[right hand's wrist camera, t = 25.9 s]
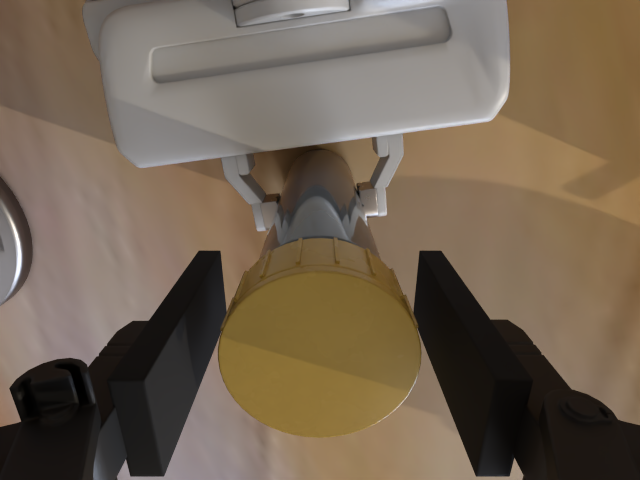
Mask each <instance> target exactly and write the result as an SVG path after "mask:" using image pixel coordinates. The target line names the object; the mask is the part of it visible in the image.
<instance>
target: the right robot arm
mask: <svg viewBox="0 0 640 480" xmlns="http://www.w3.org/2000/svg"><path fill="white" fill-rule="evenodd" d="M31 263H32V238H31V233H30V229H29V226H28V223H27V219H26V217H25V215H24V212H23V210H22V208H21V206H20V204H19V202H18V201H17V199H16V197H15V196H14V194H13V193H12V191H11V190H10V189H9V187H8V186H7V185H6V183H5V182H4V181H3V180H2V179H1V177H0V306H1V305H2V304H4V303H5V302H6V301H8V300H9V299H10V298H12V297H13V296H14V295H15V294H16V293H17V292H18V291H19V290H20V288H21V287H22V286H23V284H24V282H25V280H26V279H27V276H28V274H29V271H30V267H31ZM226 313H227V312H226V302H225V292H224V282H223V273H222V263H221V253H220V251H198V253H197V254H196V256H195V257H194V258H193V260H192V261H191V263H190V264H189V265H188V267H187V268H186V270H185V271H184V272H183V274H182V275H181V277H180V278H179V279H178V281H177V282H176V284H175V285H174V286H173V288H172V289H171V291H170V292H169V293H168V295H167V296H166V298H165V299H164V300H163V302H162V303H161V305H160V306H159V307H158V309H157V310H156V312H155V313H154V314H153V316H152V317H151V319H150V320H149V321H132V322H131V323H129V324H128V325H126V326H125V327H123V328H122V329H120V330H119V331H117V332H116V334H115V335H114V336H113V337H112V338H111V340H110V341H109V342H108V343H107V346H105V347H104V348H103V350H102V351H101V352H100V353H99V356H97V357H96V358H95V359H94V361H93V362H92V363H91V364H90V366H89V367H87V364H85V363H84V362H83V361H82V360H79V359H73V358H65V359H56V360H53V361H50V362H46V363H43V364H41V365H39V366H36V367H34V368H32V369H30V370H28V371H27V372H26V373H24V374H23V375H21V376H20V377H19V378H17V379H16V381H15V382H14V383H13V384H12V386H11V387H10V388H9V389H10V391H11V394H12V397H13V400H14V402H15V405H16V408H17V411H18V413H19V416H20V419H21V422H19V423H16V424H11V425H7V426H3V427H0V480H118V479H117V475H118V473H119V471H120V469H121V467H122V465H123V463H124V461H125V460H127V464H128V468H129V472H130V476H164V475H165V473H166V470H167V467H168V465H169V462H170V460H171V457H172V455H173V452H174V450H175V447H176V445H177V442H178V440H179V437H180V435H181V432H182V429H183V427H184V424H185V422H186V419H187V417H188V414H189V412H190V409H191V407H192V404H193V402H194V399H195V397H196V394H197V391H198V389H199V386H200V384H201V381H202V379H203V376H204V374H205V371H206V369H207V366H208V364H209V361H210V359H211V356H212V353H213V351H214V348H215V346H216V343H217V341H218V338H219V336H220V333H221V331H220V329H221V326H222V323H223V321H224V318H225V316H226ZM413 314H414V316H415V319H416V321H417V324H418V331H419V333H420V336H421V338H422V341H423V343H424V346H425V348H426V351H427V353H428V356H429V359H430V361H431V364H432V366H433V369H434V371H435V374H436V376H437V379H438V381H439V384H440V386H441V389H442V391H443V394H444V397H445V399H446V402H447V404H448V407H449V409H450V412H451V414H452V417H453V419H454V422H455V424H456V427H457V429H458V432H459V435H460V437H461V440H462V442H463V445H464V447H465V450H466V452H467V455H468V457H469V460H470V462H471V465H472V467H473V470H474V473H475V475H476V476H510V472H511V468H512V464H513V460H514V458H515V459H516V461H517V463H518V465H519V467H520V469H521V471H522V473H523V475H524V476H523V479H522V480H640V425H636V424H632V423H627V422H623V421H620V420H618V419H617V418H616V416H615V415H614V413H613V412H612V411H611V410H610V409H609V408H608V407H607V406H605V405H604V404H603V403H602V402H600V401H599V400H597V399H595V398H593V397H591V396H589V395H588V394H585V393H582V392H578V391H575V390H571V388H570V387H569V386H568V385H567V383H566V382H565V381H564V380H563V379H562V377H561V376H560V375H559V374H558V372H557V371H556V370H555V369H554V367H553V366H552V365H551V364H550V363H549V361H548V360H547V359H546V358H545V356H544V355H541V352H540V350H539V349H538V348H537V347H536V345H533V342H532V341H531V339H530V338H529V337H528V336H527V334H526V333H525V332H524V331H523V330H522V329H521V328H519V327H518V326H516V325H515V324H513V323H512V322H510V321H509V320H490V319H489V317H488V316H487V314H486V313H485V312H484V310H483V309H482V307H481V306H480V305H479V303H478V302H477V300H476V299H475V298H474V296H473V295H472V293H471V292H470V291H469V289H468V288H467V286H466V285H465V284H464V282H463V281H462V279H461V278H460V277H459V275H458V274H457V272H456V271H455V270H454V268H453V267H452V265H451V264H450V263H449V261H448V260H447V258H446V257H445V256H444V254H443V253H442V251H420V253H419V263H418V273H417V283H416V292H415V302H414V312H413Z"/></svg>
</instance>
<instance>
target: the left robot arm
mask: <svg viewBox="0 0 640 480" xmlns="http://www.w3.org/2000/svg"><path fill="white" fill-rule="evenodd" d="M82 13H83V20H84V24H85V27H86V30H87V34H88V37H89V40H90V43H91V47H92V49H93V52H94V54H95V56H96V57H97V59H98V60H99V61H100V68H101V76H102V82H103V89H104V95H105V100H106V105H107V111H108V115H109V119H110V124H111V128H112V132H113V136H114V140H115V143H116V146H117V148H118V150H119V152H120V153H121V154H122V155H123V156H124V157H125V158H127V159H128V160H129V161H130V162H131V163H133V164H134V165H135V166H136V167H139V168H146V167H153V166H161V165H168V164H176V163H183V162H191V161H198V160H206V159H213V158H221V161H222V165H223V170H224V174H225V178H226V179H227V180H228V181H229V183H230V184H231V185H232V186H233V187H234V188H235V189H236V190H237V191H238V193H239V194H240V195H241V196H242V197H243V198H244V199H245V200H246V202H247V203H248V204H251V205H252V210H253V215H254V220H255V225H256V229H257V231H266V230H269V228H270V225H271V222H272V220H273V217H274V214H275V211H276V208H277V205H278V202H279V199H280V193H278V194H268V195H266V193H265V192H264V191H263V189H262V188H261V187H260V186H259V184H258V183H257V182H256V181H255V179H254V178H253V177H252V176H251V174H250V173H249V172H250V171H251V170H252V169H253V167H254V166H255V161H254V155H253V153H258V152H266V151H273V150H280V149H288V148H295V147H303V146H310V145H318V144H325V143H333V142H340V141H348V140H355V139H363V138H370V137H372V143H373V150H374V151H375V152H376V154H377V155H378V156H379V157H380V159H379V161H378V163H377V166H376V168H375V170H374V172H373V175H372V177H371V179H370V181H369V182H363V183H357V192H358V194H359V197H360V200H361V203H362V206H363V209H364V212H365V215H366V218H370V217H378V216H386V215H387V207H386V193H385V187H387V186H388V184H389V183H390V181H391V179H392V177H393V175H394V173H395V171H396V169H397V167H398V165H399V163H400V161H401V159H402V157H403V155H404V153H403V133H408V132H415V131H423V130H430V129H438V128H445V127H452V126H460V125H467V124H475V123H482V122H488V121H491V120H492V119H493V118H494V117H495V116H496V115H497V113H498V112H499V110H500V109H501V107H502V106H503V105H504V103H505V102H506V100H507V98H508V94H509V84H510V38H509V21H508V10H507V0H86V1H85V4H84V5H83V10H82Z"/></svg>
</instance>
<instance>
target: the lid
mask: <svg viewBox="0 0 640 480" xmlns="http://www.w3.org/2000/svg"><path fill="white" fill-rule="evenodd" d="M417 328H418V324H417V321H416V319H415V316H414V314H413V311H412V309H411V306H410V304H409V301H408V299H407V296H406V295H403V293H402V290H401V288H400V285H399V283H398V280H397V278H396V275H395V273H394V270H393V269H392V268H391V269H389V268H388V267H387V266H386V265H385V264H384V263H383V262H382V261H381V260H380V259H379V258H378V257H376V256H375V255H373V254H372V253H370V249H368V248H366V250H365V249H363V248H361V247H359V246H357V245H354V244H351V243H349V242H345V241H341V240H338V239H337V238H336V237H334V239H327V238H310V239H304V240H303V239H302V238H299V240H298V241H294V242H291V243H287V244H285V245H283V246H280V247H278V248H276V249H274V250H272V251H271V250H268V251H267V253H266V255H265V256H263V257H262V258H261V259H259V260H258V261H257V262H256V263H255V264H254V265H253V266H252V267H251V268H250V270H249V271H248V272H247V271H245V272H244V274H243V276H242V279H241V281H240V284H239V286H238V289H237V292H236V294H235V297H233V298H232V301H231V303H230V306H229V308H228V311H227V313H226V316H225V318H224V321H223V323H222V326H221V329H220V331H222V333H221V336H220V340H219V346H218V361H219V367H220V372H221V375H222V378H223V381H224V383H225V385H226V387H227V389H228V391H229V392H230V394H231V395H232V397H233V398H234V400H235V401H236V402H237V403H238V404H239V405H240V406H241V407H242V408H243V409H244V410H245V411H246V412H247V413H248V414H250V415H251V416H252V417H254V418H255V419H257V420H258V421H260V422H262V423H263V424H265V425H267V426H269V427H271V428H274V429H277V430H279V431H282V432H285V433H289V434H293V435H298V436H304V437H334V436H342V435H346V434H351V433H354V432H357V431H360V430H363V429H365V428H368V427H370V426H372V425H374V424H376V423H378V422H379V421H381V420H383V419H384V418H386V417H387V416H388V415H390V414H391V413H392V412H393V411H394V410H395V409H396V408H398V407H399V406H400V405H401V404H402V402H403V401H404V400H405V398H406V397H407V396H408V395H409V393H410V391H411V389H412V388H413V386H414V384H415V381H416V379H417V376H418V373H419V368H420V364H421V344H420V339H419V335H418V331H417Z"/></svg>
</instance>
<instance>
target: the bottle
mask: <svg viewBox="0 0 640 480" xmlns="http://www.w3.org/2000/svg"><path fill="white" fill-rule="evenodd" d="M334 237H336V238H337V239H338V240H341V241H345V242H349V243H351V244H354V245H357V246H359V247H361V248H363V249H365V250H366V248H368V249H370V253H372V254H373V255H375V256H376V257H378V258H379V259H380V256H379V253H378V250H377V247H376V244H375V241H374V238H373V236H372V233H371V230H370V227H369V224H368V221H367V218H366V215H365V212H364V209H363V206H362V203H361V200H360V197H359V194H358V192H357V189H356V186H355V183H354V180H353V177H352V174H351V171H350V169H349V166H348V165H347V163H346V162H345V161H344V160H343V159H342V158H341V157H340V156H339V155H337V154H336V153H334V152H331V151H328V150H322V149H317V150H311V151H308V152H306V153H304V154H302V155H301V156H299V157H298V158H297V159H296V160H295V161H294V163H293V164H292V166H291V168H290V170H289V173H288V176H287V179H286V181H285V184H284V187H283V190H282V193H281V196H280V199H279V202H278V205H277V208H276V211H275V214H274V217H273V220H272V222H271V225H270V228H269V231H268V234H267V237H266V240H265V243H264V246H263V249H262V252H261V255H260V258H259V259H261V258H262V257H263V256H265V255H266V253H267V251H268V250H271V251H272V250H274V249H276V248H278V247H280V246H283V245H285V244H287V243H291V242H294V241H298V240H299V238H302V239H303V240H304V239H310V238H327V239H334ZM380 260H381V259H380Z"/></svg>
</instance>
